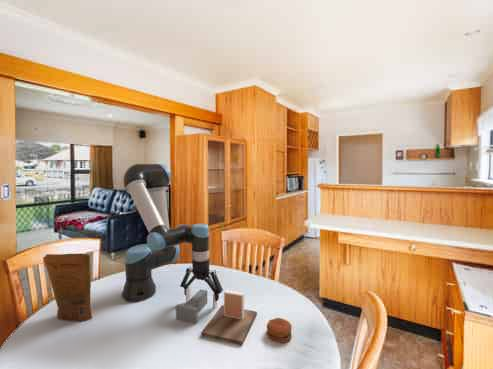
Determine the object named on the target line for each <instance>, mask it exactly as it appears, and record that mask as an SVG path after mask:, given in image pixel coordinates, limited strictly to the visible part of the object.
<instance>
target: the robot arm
mask: <svg viewBox="0 0 493 369" xmlns="http://www.w3.org/2000/svg"><path fill="white" fill-rule="evenodd" d="M122 181H123V187H124V189H125V191H126V193H128V194H130V196H131V198H132V200H133V202H134V205H135V207H136V209H137V211H138V213H139V215H140V217H141V220H142V222H143V224H144V225H145V227H146V229H147V231H148V233H149V234H148V235H147V236H146V243H142V244H137V245H133V246H131V247H129V248H128V249H127V250H126V252H125V254H124V255H125V256H124V263H125V264H124V267H125V282H124V286H123V290H122V292H121V294H122V300H124V301H126V302H132V303H133V302H140V301H142V302H143V301H144V300H147V299H149V298H151V297H153V296H154V295H155V294H156V291H157V290H156V288H157V287H156V284H155V282H154V279H153V276H152V274H153V273H152V272H153V270H155V269H157V268H161V267H164V266H169V265H170V264H173V263H175V262H176V261H177V260H178V259H179V257H180V251H181V250H180V249H181V248H180V245H181V244H185V243H187V244H190V245H191V253H192V254H191V255H192V256H191V257H192V262H191V263H192V266H188V267H187V268H186V269H185V270H186V271H185V274H184V275H183V276H184V277H182V278H183V279H182V281H181V283H180V284H179V286H180V288H183V289H184V290H183V292H184V296H185V304H186V303H187V302H188V301H189V300H190V299H191V285H192V283H193V282H194V281H195V280H197V281H198V280H201V281H204V282H205V283H206V284H207V285H208V287H209V288H210V289H211V291H212V292H213V294H212V310H213V309H214V310H215V309H216V308H217V306H218V301H219V299H220V294H221V293H222V292H224V289H223V287H222V285H221V282H220V279H219V278H218V275H217V271H216V270H215V269H214V270H210V228H209V225H208V224H206V223H195V224H193V225H192V226H191V225H188V224H179V225H177V226H176V227H173V228H170V222H169V213H168V212H169V211H168V203H167V196H166V195H167V194H166V191H167V190H168V188H169V187H168V185H170V184H171V181H172V173H171V170H170V169H169V168H168V166H167V165H165V164H163V163H162V164H160V163H136V164H135V163H134V164H133V165H131V166H130V167H128V168H126V170H125V173H124V175H123V180H122ZM191 273H192V274H193V276H191V277H190V275H191ZM189 277H190V279H189ZM188 279H189V280H188Z"/></svg>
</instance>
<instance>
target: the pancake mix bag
mask: <svg viewBox="0 0 493 369" xmlns="http://www.w3.org/2000/svg"><path fill="white" fill-rule="evenodd" d="M42 259H43V264H44V266H45V268H46V273H47V275H48V279H49V281H50V285H51V289H52V292H53V296H54V300H55V304H56V307H57V313H56V316H57V318H56V319H57V320H60V321H70V322H79V323H81V322H86V321H89V320H91V319H93V316H92V308H91V299H92V298H91V288H92V286H91V285H92V283H91V255H90V254H88V253H61V254H60V253H59V254H58V253H57V254H54V253H53V254H51V253H50V254H49V253H47V254H45V255H44V256H43V257H42Z"/></svg>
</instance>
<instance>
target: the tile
mask: <svg viewBox="0 0 493 369" xmlns="http://www.w3.org/2000/svg"><path fill="white" fill-rule="evenodd" d="M223 305H224V316H228V317H233V318H238V319H243V318H244V309H245V292H241V291H240V292H239V291H235V290H228V289H225V290H224V291H223Z"/></svg>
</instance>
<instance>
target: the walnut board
mask: <svg viewBox="0 0 493 369" xmlns="http://www.w3.org/2000/svg"><path fill="white" fill-rule="evenodd" d="M257 315H258V311H254V310H250V309H245V308H244V318H243V319H238V318H233V317H228V316H224V304H223V305H221V306H220V307H219V309H218V310H217V311H216V313H215V314H214V315H213V316H212V317H211V319H210V320H209V322H208V323H207V324H206V326H205V327H204V328H203V330H202V331H201V333H200V335H201V337H203V338H204V337H205V338H208V339H211V340H212V339H213V340H218V341H222V342H226V343H229V344H233V345H239V346H243V345H244V342H245V341H246V338H247V336H248V335H249V332H250V330H251V329H252V326H253V324H254V322H255V320H256V317H257Z"/></svg>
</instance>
